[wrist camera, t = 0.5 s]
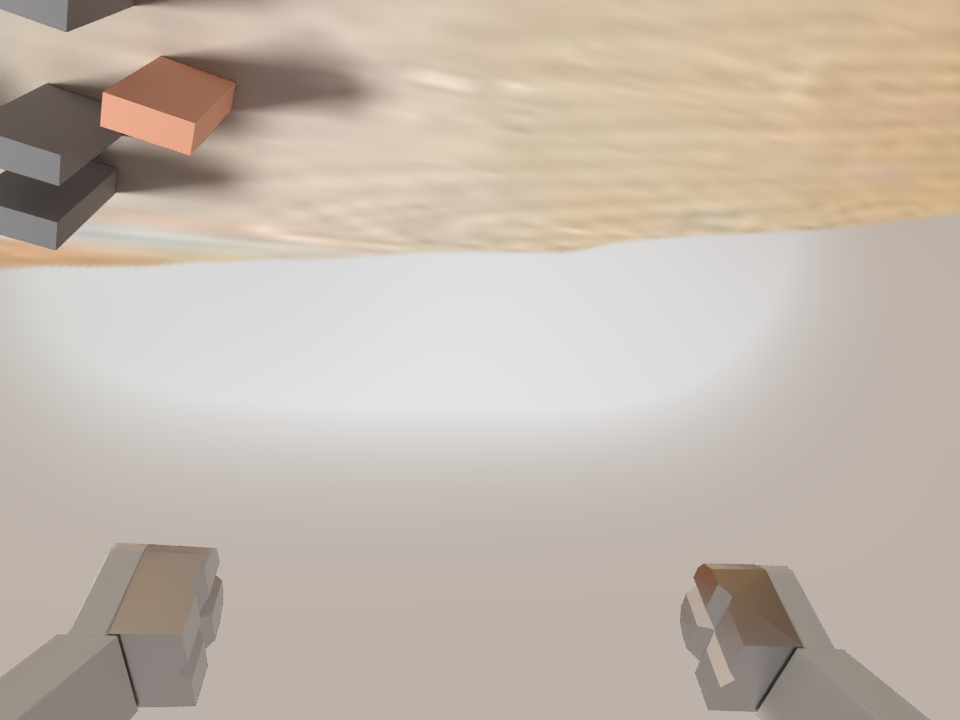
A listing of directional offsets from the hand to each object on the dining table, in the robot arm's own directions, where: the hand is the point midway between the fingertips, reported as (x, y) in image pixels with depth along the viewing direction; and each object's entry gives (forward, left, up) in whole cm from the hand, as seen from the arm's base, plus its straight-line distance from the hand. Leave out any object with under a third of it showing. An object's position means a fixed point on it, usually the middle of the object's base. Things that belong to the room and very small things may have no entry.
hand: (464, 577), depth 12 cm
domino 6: (+17, -22, -44) cm, 52 cm away
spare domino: (+8, -15, -44) cm, 47 cm away
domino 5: (+12, -22, -44) cm, 50 cm away
